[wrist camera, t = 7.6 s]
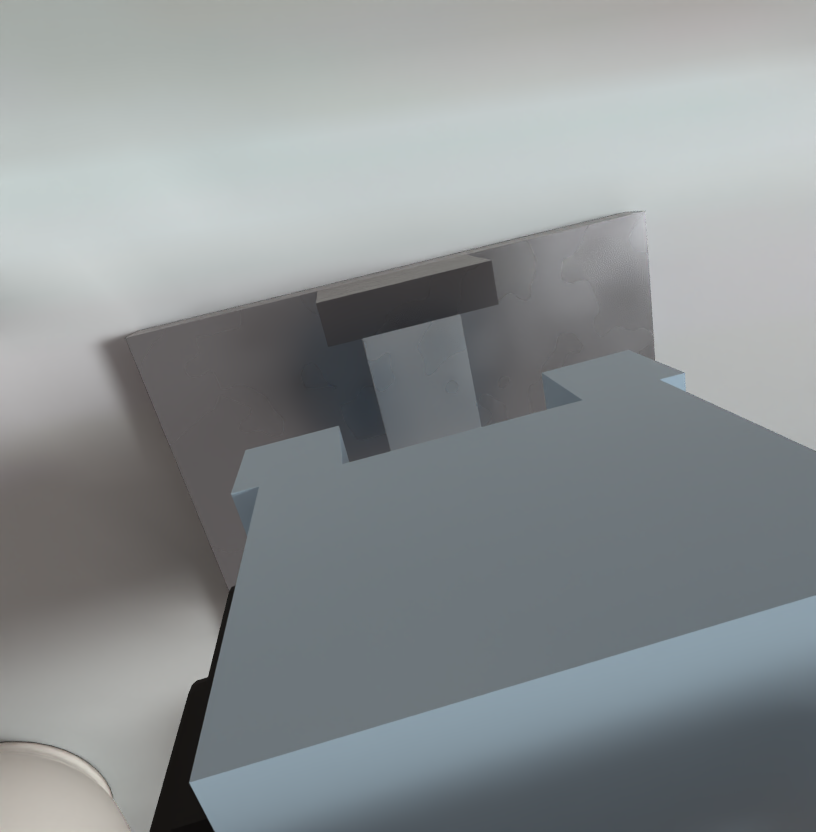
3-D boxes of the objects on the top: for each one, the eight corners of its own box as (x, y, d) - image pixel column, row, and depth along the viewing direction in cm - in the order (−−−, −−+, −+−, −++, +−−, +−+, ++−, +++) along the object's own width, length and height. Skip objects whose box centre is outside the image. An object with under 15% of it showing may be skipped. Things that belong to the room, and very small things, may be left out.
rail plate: (626, 211, 16) (850, 201, 9) (662, 682, 22) (810, 884, 15) (137, 330, 15) (-17, 418, 8) (319, 783, 21) (315, 1044, 14)
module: (628, 350, 10) (1054, 523, 4) (651, 636, 12) (944, 1002, 6) (245, 450, 9) (129, 800, 4) (345, 728, 11) (368, 1208, 6)
